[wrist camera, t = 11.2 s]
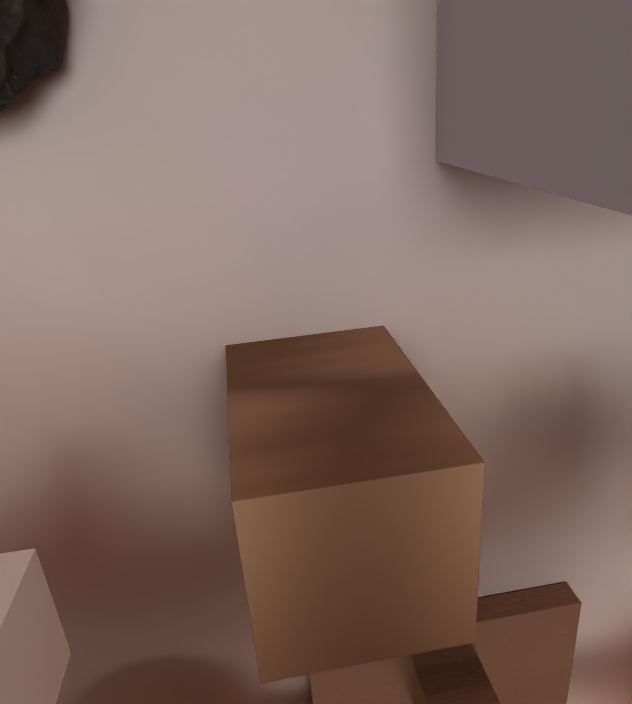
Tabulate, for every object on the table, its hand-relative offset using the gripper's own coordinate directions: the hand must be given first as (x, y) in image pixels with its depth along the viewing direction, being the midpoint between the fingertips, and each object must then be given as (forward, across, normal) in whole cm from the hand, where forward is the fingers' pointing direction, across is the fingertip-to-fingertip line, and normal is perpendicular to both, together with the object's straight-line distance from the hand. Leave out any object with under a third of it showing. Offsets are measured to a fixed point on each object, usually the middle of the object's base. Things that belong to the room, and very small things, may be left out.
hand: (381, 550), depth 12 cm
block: (+6, -1, 0) cm, 6 cm away
